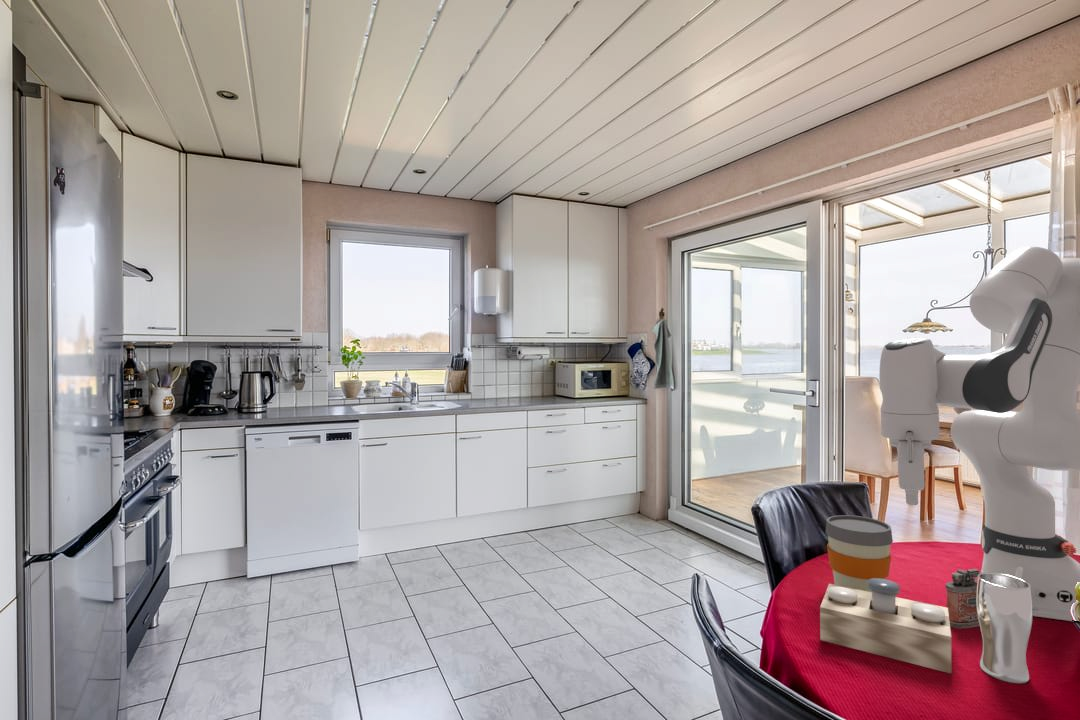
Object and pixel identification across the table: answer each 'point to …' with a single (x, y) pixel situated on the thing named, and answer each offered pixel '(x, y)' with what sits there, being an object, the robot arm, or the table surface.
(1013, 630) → the beer glass
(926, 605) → the plunger near
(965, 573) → the lighter
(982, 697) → the table surface
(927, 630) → the wooden peg holder
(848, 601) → the plunger far
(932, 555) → the table surface
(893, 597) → the plunger middle
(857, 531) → the reusable coffee cup
